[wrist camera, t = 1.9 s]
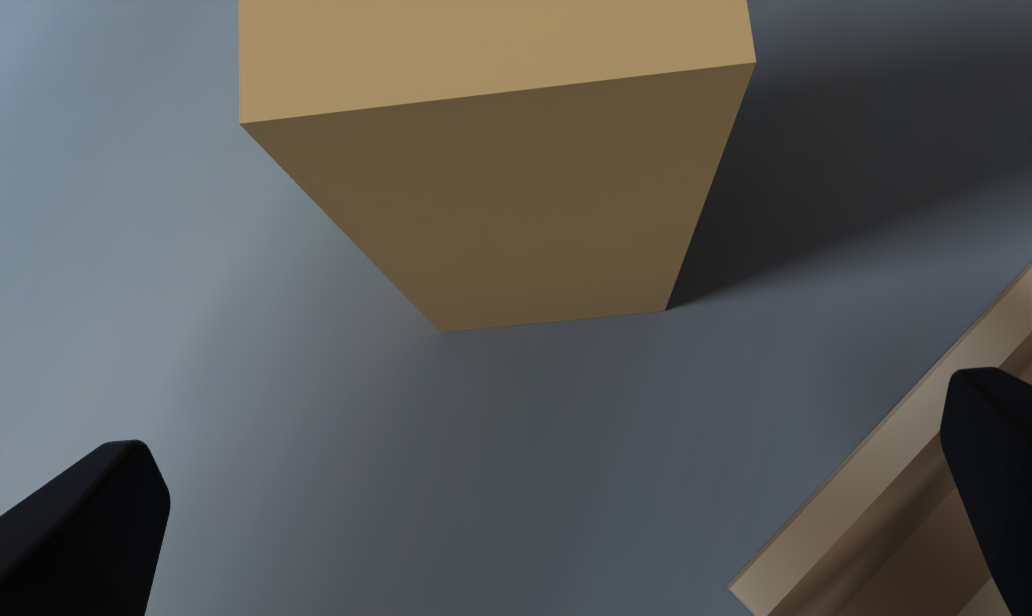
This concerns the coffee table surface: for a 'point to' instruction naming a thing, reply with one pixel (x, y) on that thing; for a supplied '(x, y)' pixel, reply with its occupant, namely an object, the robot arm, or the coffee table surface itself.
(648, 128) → the pillar
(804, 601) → the brown open-ended tray
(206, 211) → the coffee table surface
